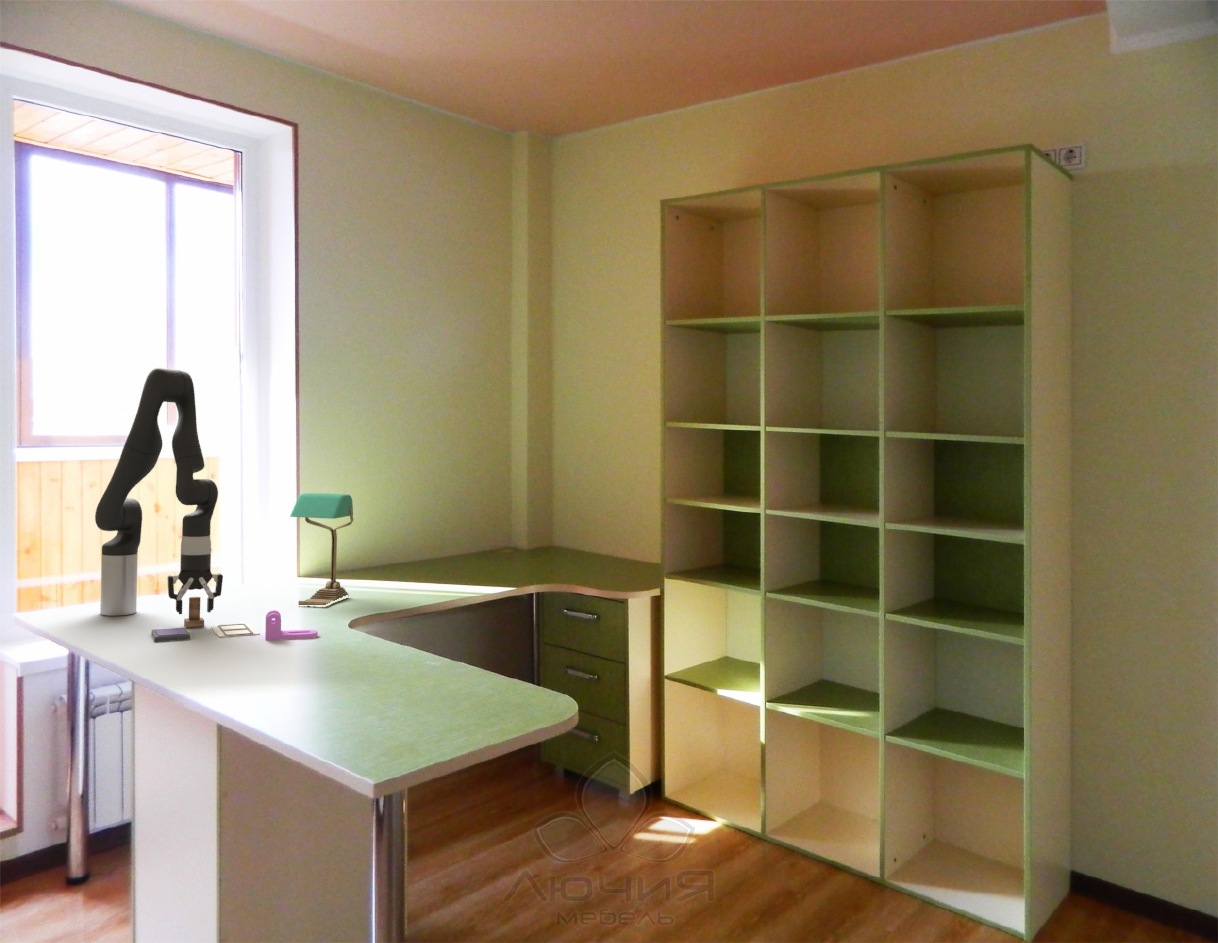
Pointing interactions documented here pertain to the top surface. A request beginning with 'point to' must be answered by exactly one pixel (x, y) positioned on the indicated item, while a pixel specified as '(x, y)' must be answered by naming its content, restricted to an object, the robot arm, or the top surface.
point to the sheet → (235, 630)
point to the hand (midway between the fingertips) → (194, 612)
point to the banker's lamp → (331, 508)
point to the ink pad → (170, 634)
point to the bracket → (276, 633)
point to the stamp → (194, 614)
